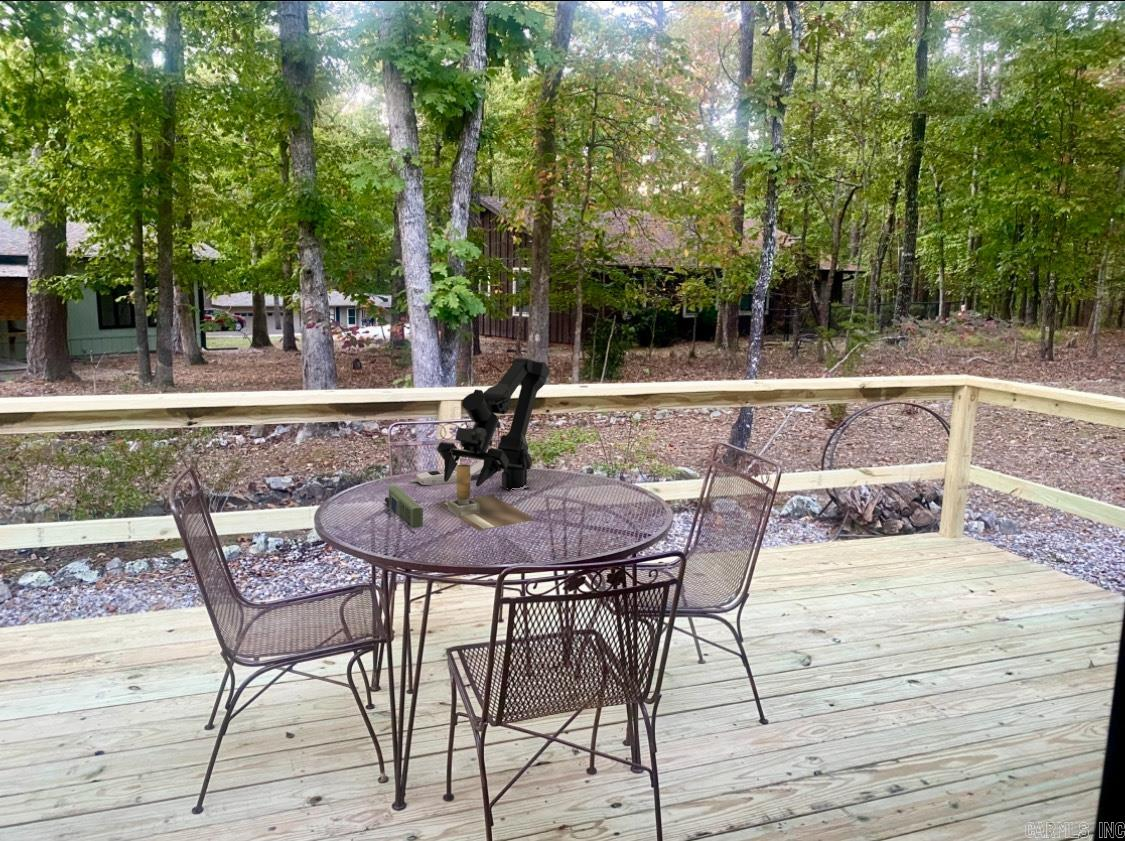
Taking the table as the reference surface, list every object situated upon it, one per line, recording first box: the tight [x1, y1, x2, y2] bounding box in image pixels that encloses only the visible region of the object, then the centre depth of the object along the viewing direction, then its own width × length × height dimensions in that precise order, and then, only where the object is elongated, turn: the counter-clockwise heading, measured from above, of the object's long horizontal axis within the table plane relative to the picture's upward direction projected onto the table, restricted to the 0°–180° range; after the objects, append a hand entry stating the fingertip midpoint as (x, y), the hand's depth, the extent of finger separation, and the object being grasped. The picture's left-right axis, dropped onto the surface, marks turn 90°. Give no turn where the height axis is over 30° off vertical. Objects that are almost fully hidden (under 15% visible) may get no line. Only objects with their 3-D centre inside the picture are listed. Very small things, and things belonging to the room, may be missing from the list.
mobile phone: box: [409, 459, 484, 486], centre depth 219 cm, size 6×6×25 cm
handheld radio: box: [384, 484, 424, 534], centre depth 186 cm, size 7×3×25 cm
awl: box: [456, 463, 471, 506], centre depth 186 cm, size 3×3×12 cm
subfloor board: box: [438, 494, 536, 532], centre depth 188 cm, size 16×23×4 cm
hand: (460, 483), depth 185 cm, fingers open, 9 cm apart
